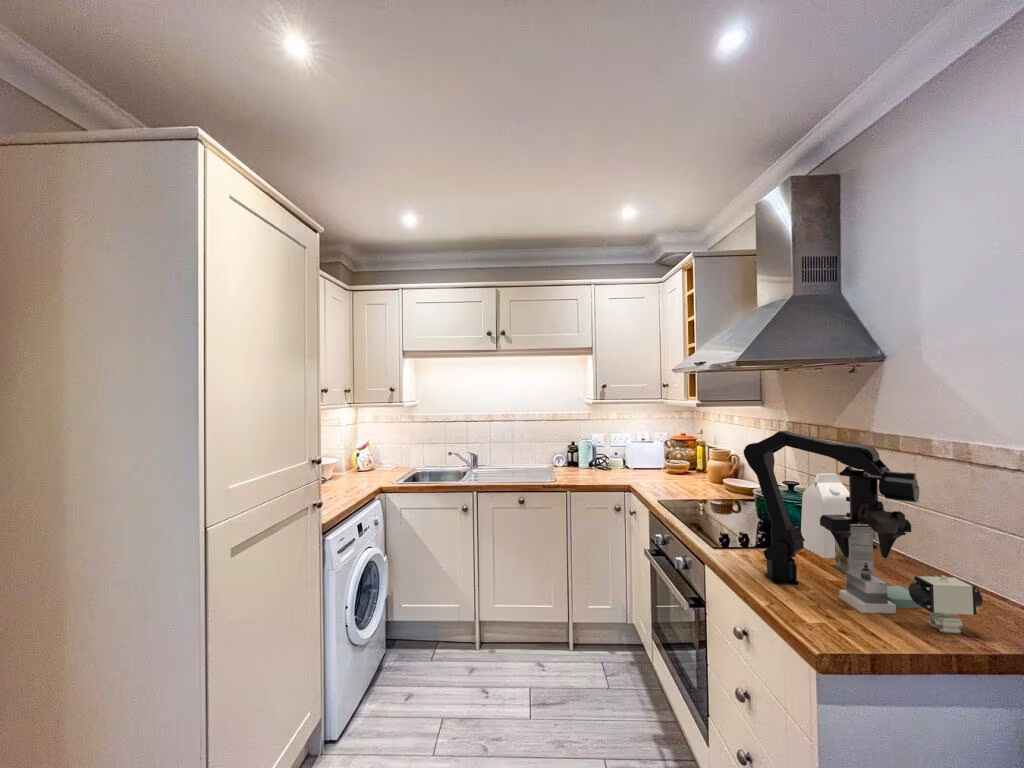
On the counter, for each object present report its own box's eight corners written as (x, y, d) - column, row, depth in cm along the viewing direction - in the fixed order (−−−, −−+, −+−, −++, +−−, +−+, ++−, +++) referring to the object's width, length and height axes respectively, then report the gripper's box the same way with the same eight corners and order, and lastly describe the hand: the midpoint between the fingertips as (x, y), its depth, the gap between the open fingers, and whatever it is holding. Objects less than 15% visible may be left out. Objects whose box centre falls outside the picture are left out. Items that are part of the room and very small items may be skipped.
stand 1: (861, 612, 108) (861, 604, 108) (839, 597, 116) (839, 589, 116) (896, 613, 108) (895, 604, 108) (871, 598, 116) (871, 590, 116)
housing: (866, 603, 109) (865, 579, 109) (846, 590, 116) (845, 568, 116) (887, 603, 109) (886, 579, 109) (866, 591, 116) (866, 568, 116)
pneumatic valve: (984, 637, 97) (982, 581, 97) (924, 633, 99) (922, 578, 99) (963, 624, 102) (961, 571, 103) (906, 621, 104) (904, 569, 104)
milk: (834, 545, 156) (832, 470, 156) (860, 557, 144) (857, 476, 145) (800, 546, 156) (798, 471, 156) (823, 558, 144) (820, 477, 145)
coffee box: (834, 566, 138) (832, 513, 138) (857, 567, 136) (856, 514, 137) (850, 578, 129) (848, 522, 129) (875, 579, 127) (873, 523, 128)
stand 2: (892, 607, 111) (892, 599, 111) (869, 593, 119) (869, 585, 119) (927, 608, 110) (926, 600, 110) (901, 593, 118) (900, 586, 118)
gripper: (847, 502, 105) (849, 569, 105) (930, 503, 104) (932, 570, 104) (817, 492, 117) (819, 552, 116) (892, 492, 116) (894, 553, 115)
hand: (865, 557), depth 113 cm, fingers open, 9 cm apart
